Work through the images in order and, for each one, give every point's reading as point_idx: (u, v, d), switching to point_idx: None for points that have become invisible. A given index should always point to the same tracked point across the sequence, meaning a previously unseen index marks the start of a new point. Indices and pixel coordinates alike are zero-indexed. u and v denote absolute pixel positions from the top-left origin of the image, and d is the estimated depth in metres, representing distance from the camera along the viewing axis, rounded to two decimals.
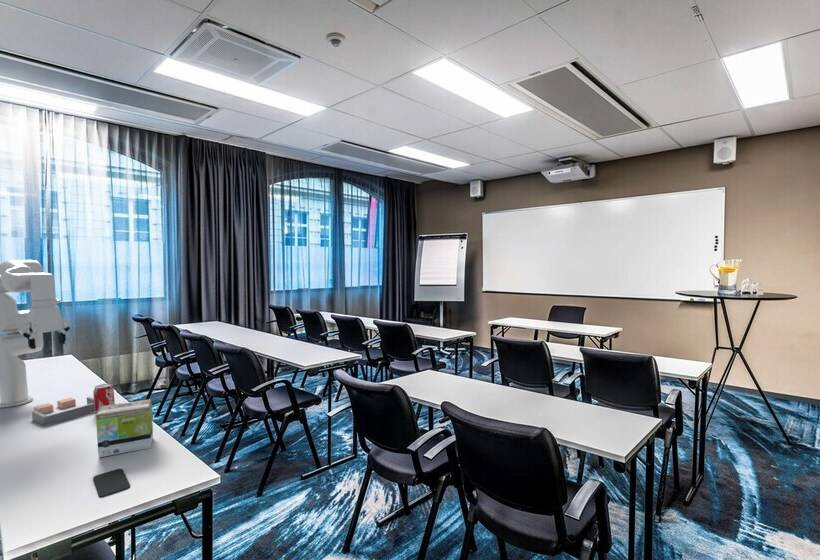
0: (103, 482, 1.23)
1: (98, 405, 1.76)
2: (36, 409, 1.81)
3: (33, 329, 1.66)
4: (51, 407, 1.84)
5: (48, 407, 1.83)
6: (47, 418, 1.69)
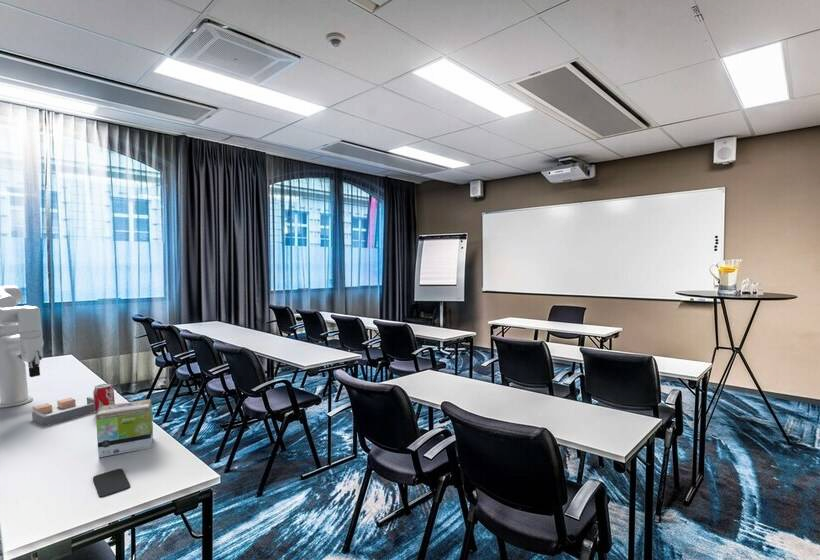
0: (103, 482, 1.23)
1: (98, 405, 1.76)
2: (35, 409, 1.81)
3: (42, 356, 1.85)
4: (50, 407, 1.84)
5: (47, 407, 1.83)
6: (47, 418, 1.69)
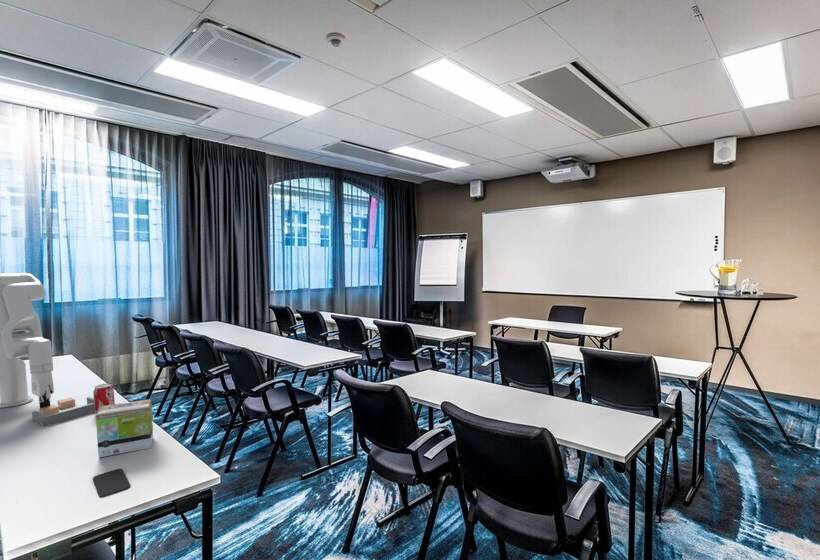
0: (103, 482, 1.22)
1: (98, 405, 1.76)
2: (42, 411, 1.78)
3: (53, 390, 1.81)
4: (57, 409, 1.81)
5: (54, 409, 1.80)
6: (47, 418, 1.69)
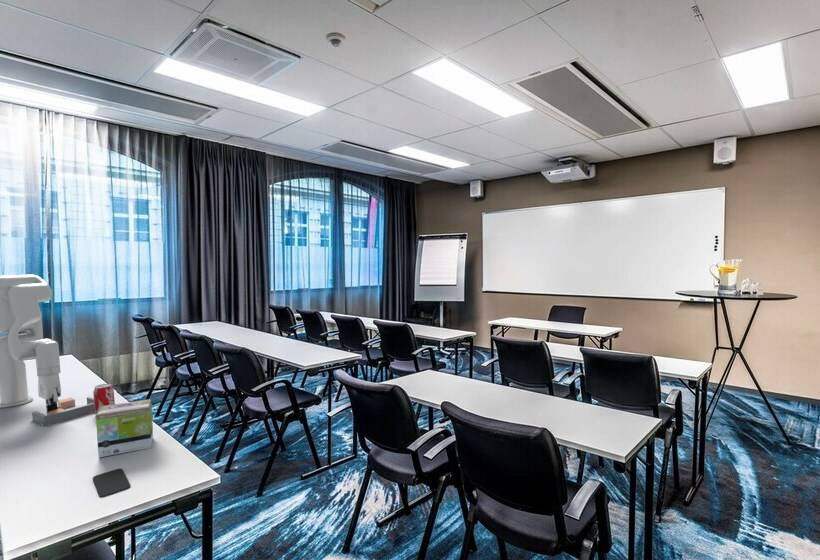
0: (103, 482, 1.22)
1: (98, 405, 1.76)
2: (49, 414, 1.74)
3: (60, 393, 1.78)
4: None
5: None
6: (47, 418, 1.69)
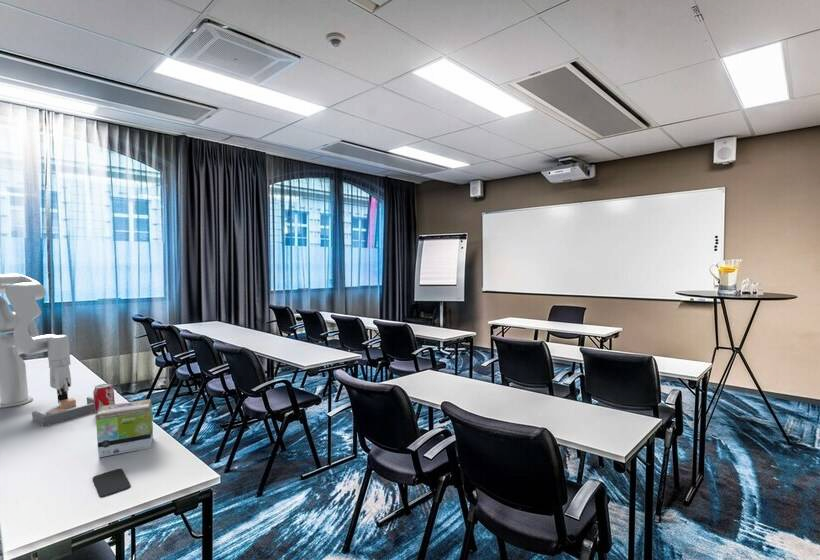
0: (103, 482, 1.22)
1: (98, 405, 1.76)
2: (49, 414, 1.74)
3: (70, 383, 1.91)
4: None
5: None
6: (47, 418, 1.69)
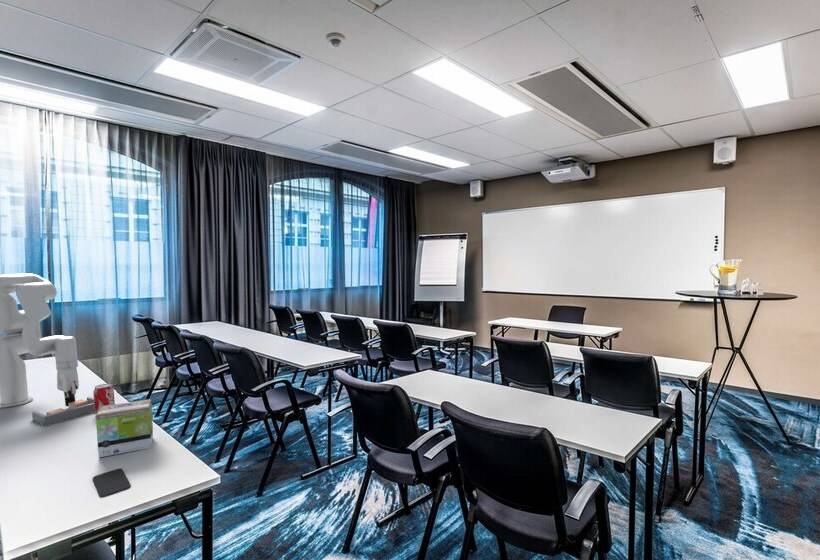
0: (103, 482, 1.22)
1: (98, 405, 1.76)
2: (49, 414, 1.74)
3: (78, 385, 1.87)
4: None
5: None
6: (47, 418, 1.69)
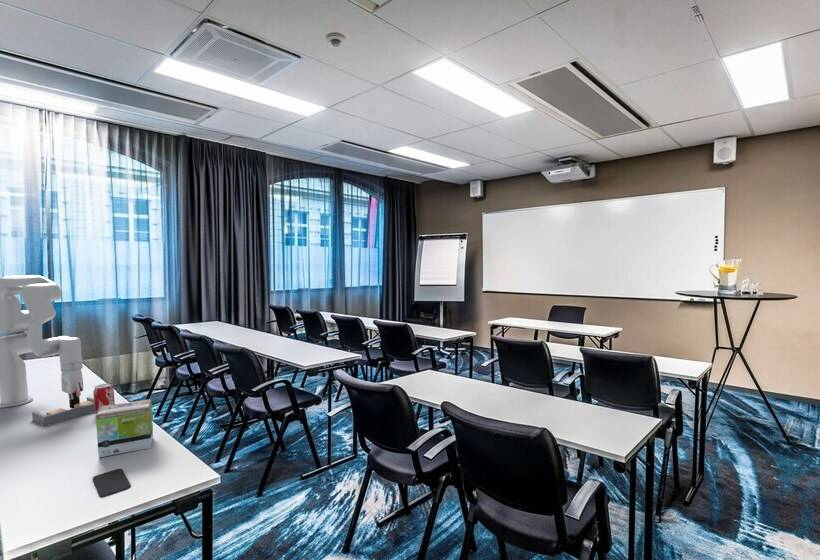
0: (103, 482, 1.22)
1: (98, 405, 1.76)
2: (49, 414, 1.74)
3: None
4: None
5: None
6: (47, 418, 1.69)
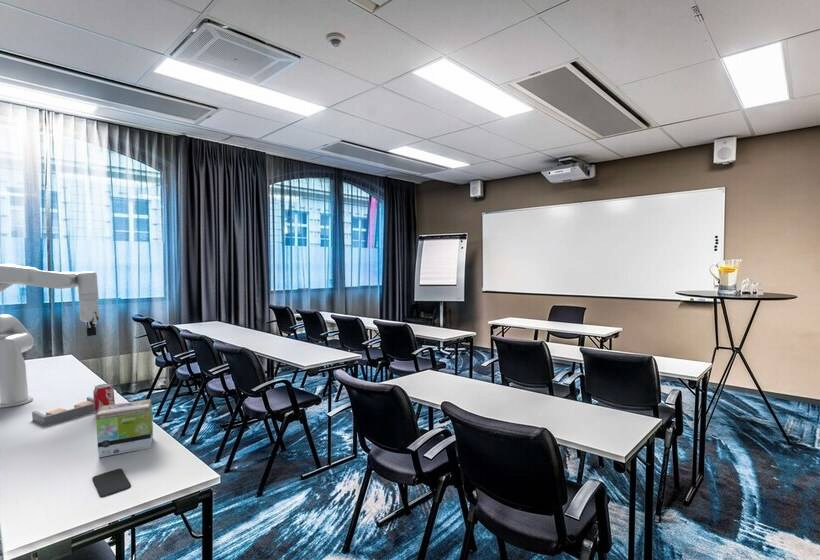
0: (103, 482, 1.22)
1: (98, 405, 1.76)
2: None
3: (99, 317, 2.02)
4: None
5: None
6: (47, 418, 1.69)
